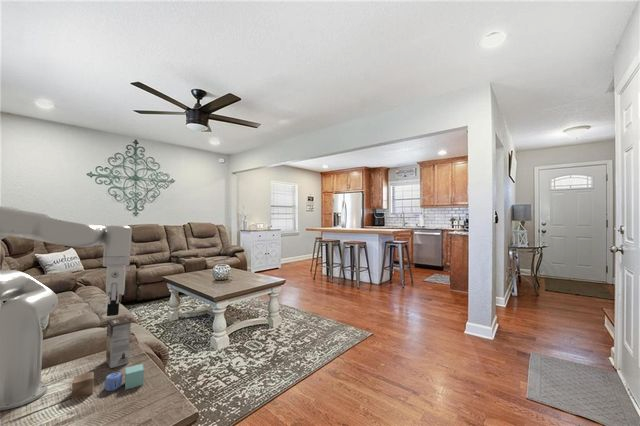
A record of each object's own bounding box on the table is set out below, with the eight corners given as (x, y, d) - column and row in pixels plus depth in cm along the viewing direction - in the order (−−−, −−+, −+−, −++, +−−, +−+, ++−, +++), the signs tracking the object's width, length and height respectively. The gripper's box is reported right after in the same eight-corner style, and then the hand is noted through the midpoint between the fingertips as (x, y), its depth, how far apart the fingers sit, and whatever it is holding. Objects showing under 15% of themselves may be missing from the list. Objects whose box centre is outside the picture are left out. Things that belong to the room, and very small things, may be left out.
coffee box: (105, 360, 112) (106, 319, 112) (124, 355, 116) (125, 316, 117) (109, 368, 105) (111, 325, 106) (130, 363, 110) (131, 321, 111)
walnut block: (71, 400, 87) (72, 383, 87) (73, 392, 91) (74, 376, 91) (92, 394, 89) (93, 378, 90) (93, 387, 94) (94, 371, 94)
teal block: (125, 389, 92) (125, 374, 92) (124, 382, 96) (125, 367, 96) (143, 384, 95) (143, 369, 95) (142, 378, 99) (142, 363, 99)
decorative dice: (103, 392, 91) (104, 379, 91) (107, 385, 94) (108, 373, 94) (118, 389, 92) (119, 377, 92) (122, 383, 96) (122, 371, 96)
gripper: (129, 263, 93) (125, 319, 92) (129, 258, 106) (126, 308, 105) (101, 264, 89) (96, 323, 88) (104, 259, 101) (100, 310, 100)
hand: (112, 314), depth 96 cm, fingers closed
